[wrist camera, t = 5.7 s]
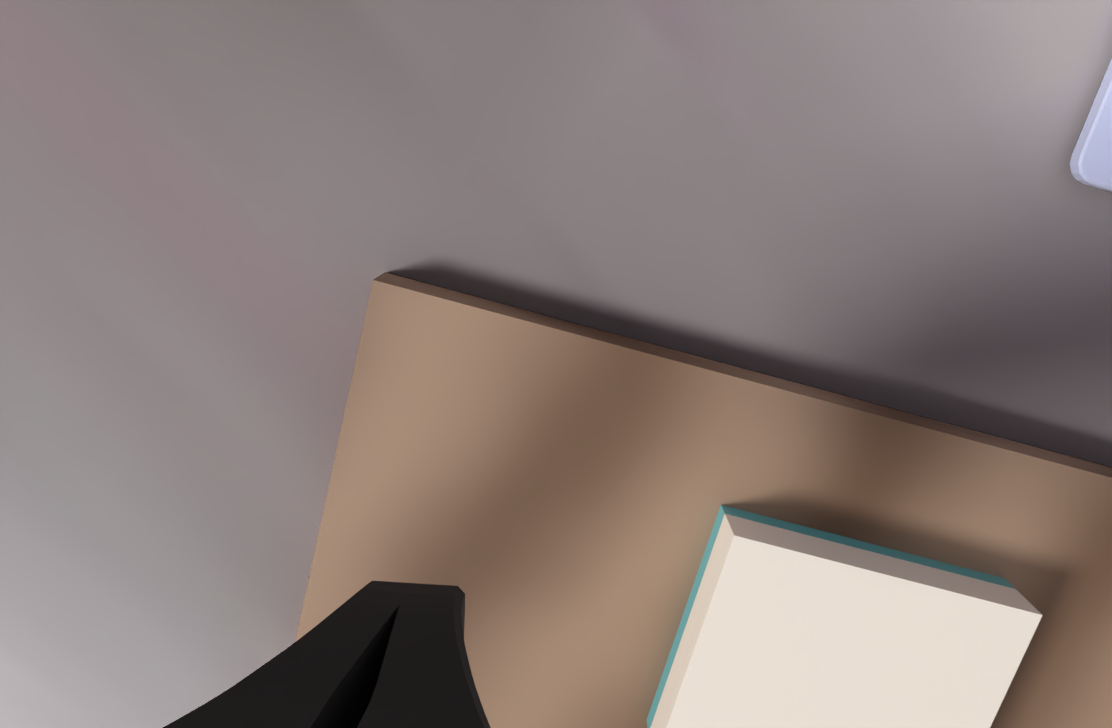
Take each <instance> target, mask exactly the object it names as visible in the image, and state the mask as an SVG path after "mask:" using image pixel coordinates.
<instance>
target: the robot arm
mask: <svg viewBox="0 0 1112 728" xmlns="http://www.w3.org/2000/svg"><path fill="white" fill-rule="evenodd" d="M1070 168H1071V173H1072V175H1073V176H1074V177H1075V179H1076V180H1077V181H1079V182H1081V183H1083V184H1085V185H1089V186H1092V187H1096V188H1099V189H1103V190H1106V191H1110V192H1112V59H1111V61H1110V64H1109V66H1108V69H1107V71H1106V74H1105V76H1104V78H1103V81H1102V83H1101V86H1100V88H1099V91H1098V93H1097V95H1096V98H1095V100H1094V103H1093V105H1092V107H1091V110H1090V112H1089V115H1088V117H1087V120H1086V122H1085V124H1084V127H1083V129H1082V132H1081V134H1080V137H1079V139H1078V141H1077V144H1076V146H1075V149H1074V151H1073V154H1072V157H1071V161H1070ZM464 622H465V593H464V592H463V591H462V590H461V589H460V588H459V587H458V586H452V585H436V584H419V583H403V582H386V581H371V582H370V583H368V584H367V585H366V586H364V587H363V588H362V589H361V590H359V591H358V592H357V593H356V594H354V595H353V596H352V597H351V598H350V599H348V600H347V601H346V602H345V603H343V604H342V605H341V606H340V607H339V608H337V609H336V610H335V611H334V612H333V613H331V614H330V615H329V616H328V617H326V618H325V619H324V620H323V621H321V622H320V623H319V624H318V625H317V626H315V627H314V628H313V629H311V630H310V631H309V632H308V633H306V634H305V635H304V636H303V637H301V638H300V639H299V640H297V641H296V642H295V643H294V644H292V645H291V646H290V647H288V648H287V649H286V650H284V651H283V652H281V653H280V654H279V655H277V656H276V657H274V658H273V659H271V660H270V661H269V662H267V663H266V664H264V665H263V666H261V667H260V668H259V669H257V670H256V671H254V672H253V673H252V674H250V675H249V676H247V677H246V678H244V679H243V680H242V681H240V682H239V683H237V684H236V685H234V686H233V687H231V688H230V689H228V690H227V691H225V692H223V693H222V694H220V695H219V696H217V697H215V698H214V699H212V700H210V701H209V702H207V703H206V704H204V705H202V706H201V707H199V708H197V709H195V710H193V711H192V712H190V713H188V714H186V715H185V716H183V717H181V718H179V719H178V720H176V721H174V722H172V723H171V724H169V725H167V726H165V727H163V728H491V727H490V725H489V722H488V720H487V717H486V715H485V712H484V710H483V707H482V704H481V701H480V698H479V695H478V693H477V690H476V686H475V683H474V680H473V676H472V673H471V669H470V665H469V661H468V656H467V652H466V648H465V643H464Z"/></svg>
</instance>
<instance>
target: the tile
mask: <svg viewBox="0 0 1112 728" xmlns="http://www.w3.org/2000/svg"><path fill="white" fill-rule="evenodd" d="M1041 618H1042V614H1041V613H1040V612H1039V611H1038V610H1037V609H1036V608H1035V607H1034V606H1033V605H1032V604H1031V603H1030V602H1029V601H1028V600H1027V599H1026V598H1025V597H1023V596H1022V595H1021V594H1020V593H1019V592H1018V591H1017V590H1016V589H1015V588H1014V587H1013V586H1012V585H1011V584H1010V583H1009V582H1008V581H1007V580H1006V579H1005V578H1001V577H997V576H994V575H990V574H986V573H982V572H978V571H974V570H971V569H967V568H963V567H959V566H955V565H951V564H947V563H944V562H940V561H936V560H932V559H928V558H924V557H921V556H917V555H913V554H909V553H905V552H901V551H897V550H894V549H890V548H886V547H882V546H878V545H874V544H871V543H867V542H863V541H859V540H855V539H851V538H848V537H844V536H840V535H836V534H832V533H828V532H824V531H821V530H817V529H813V528H809V527H805V526H801V525H798V524H794V523H790V522H786V521H782V520H778V519H774V518H771V517H767V516H763V515H759V514H755V513H751V512H748V511H744V510H740V509H736V508H732V507H728V506H724V505H721V506H720V509H719V511H718V514H717V517H716V520H715V523H714V526H713V529H712V532H711V535H710V538H709V540H708V543H707V546H706V549H705V552H704V555H703V558H702V561H701V564H700V566H699V569H698V572H697V575H696V578H695V581H694V584H693V587H692V590H691V593H690V595H689V598H688V601H687V604H686V607H685V610H684V613H683V616H682V619H681V622H680V624H679V627H678V630H677V633H676V636H675V639H674V642H673V645H672V648H671V651H670V653H669V656H668V659H667V662H666V665H665V668H664V671H663V674H662V677H661V680H660V682H659V685H658V688H657V691H656V694H655V697H654V700H653V703H652V706H651V709H650V711H649V714H648V717H647V727H648V728H990V727H991V725H992V723H993V720H994V718H995V716H996V714H997V712H998V710H999V708H1000V705H1001V703H1002V701H1003V699H1004V697H1005V695H1006V693H1007V690H1008V688H1009V686H1010V684H1011V682H1012V680H1013V678H1014V675H1015V673H1016V671H1017V669H1018V667H1019V665H1020V663H1021V660H1022V658H1023V656H1024V654H1025V652H1026V650H1027V648H1028V645H1029V643H1030V641H1031V639H1032V637H1033V635H1034V633H1035V630H1036V628H1037V626H1038V624H1039V622H1040V620H1041Z"/></svg>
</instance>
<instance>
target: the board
mask: <svg viewBox="0 0 1112 728" xmlns="http://www.w3.org/2000/svg"><path fill="white" fill-rule="evenodd" d="M721 505H724V506H728V507H732V508H736V509H740V510H744V511H748V512H751V513H755V514H759V515H763V516H767V517H771V518H774V519H778V520H782V521H786V522H790V523H794V524H798V525H801V526H805V527H809V528H813V529H817V530H821V531H824V532H828V533H832V534H836V535H840V536H844V537H848V538H851V539H855V540H859V541H863V542H867V543H871V544H874V545H878V546H882V547H886V548H890V549H894V550H897V551H901V552H905V553H909V554H913V555H917V556H921V557H924V558H928V559H932V560H936V561H940V562H944V563H947V564H951V565H955V566H959V567H963V568H967V569H971V570H974V571H978V572H982V573H986V574H990V575H994V576H997V577H1001V578H1005V579H1006V580H1007V581H1008V582H1009V583H1010V584H1011V585H1012V586H1013V587H1014V588H1015V589H1016V590H1017V591H1018V592H1019V593H1020V594H1021V595H1022V596H1023V597H1025V598H1026V599H1027V600H1028V601H1029V602H1030V603H1031V604H1032V605H1033V606H1034V607H1035V608H1036V609H1037V610H1038V611H1039V612H1040V613H1041V614H1042V618H1041V620H1040V622H1039V624H1038V626H1037V628H1036V630H1035V633H1034V635H1033V637H1032V639H1031V641H1030V643H1029V645H1028V648H1027V650H1026V652H1025V654H1024V656H1023V658H1022V660H1021V663H1020V665H1019V667H1018V669H1017V671H1016V673H1015V675H1014V678H1013V680H1012V682H1011V684H1010V686H1009V688H1008V690H1007V693H1006V695H1005V697H1004V699H1003V701H1002V703H1001V705H1000V708H999V710H998V712H997V714H996V716H995V718H994V720H993V723H992V725H991V727H990V728H1112V467H1108V466H1104V465H1101V464H1097V463H1093V462H1089V461H1086V460H1082V459H1078V458H1075V457H1071V456H1067V455H1063V454H1060V453H1056V452H1052V451H1048V450H1045V449H1041V448H1037V447H1034V446H1030V445H1026V444H1022V443H1019V442H1015V441H1011V440H1007V439H1004V438H1000V437H996V436H993V435H989V434H985V433H981V432H978V431H974V430H970V429H967V428H963V427H959V426H955V425H952V424H948V423H944V422H940V421H937V420H933V419H929V418H926V417H922V416H918V415H914V414H911V413H907V412H903V411H900V410H896V409H892V408H888V407H885V406H881V405H877V404H873V403H870V402H866V401H862V400H859V399H855V398H851V397H847V396H844V395H840V394H836V393H832V392H829V391H825V390H821V389H818V388H814V387H810V386H806V385H803V384H799V383H795V382H792V381H788V380H784V379H780V378H777V377H773V376H769V375H765V374H762V373H758V372H754V371H751V370H747V369H743V368H739V367H736V366H732V365H728V364H724V363H721V362H717V361H713V360H710V359H706V358H702V357H698V356H695V355H691V354H687V353H684V352H680V351H676V350H672V349H669V348H665V347H661V346H657V345H654V344H650V343H646V342H643V341H639V340H635V339H631V338H628V337H624V336H620V335H617V334H613V333H609V332H605V331H602V330H598V329H594V328H590V327H587V326H583V325H579V324H576V323H572V322H568V321H564V320H561V319H557V318H553V317H549V316H546V315H542V314H538V313H535V312H531V311H527V310H523V309H520V308H516V307H512V306H509V305H505V304H501V303H497V302H494V301H490V300H486V299H482V298H479V297H475V296H471V295H468V294H464V293H460V292H456V291H453V290H449V289H445V288H441V287H438V286H434V285H430V284H427V283H423V282H419V281H415V280H412V279H408V278H404V277H401V276H397V275H393V274H389V273H386V272H385V273H383V274H382V275H380V276H379V277H377V278H375V279H374V280H373V283H372V287H371V292H370V297H369V301H368V306H367V310H366V315H365V320H364V324H363V329H362V334H361V338H360V343H359V348H358V352H357V357H356V362H355V366H354V371H353V375H352V380H351V385H350V389H349V394H348V399H347V403H346V408H345V413H344V417H343V422H342V426H341V431H340V436H339V440H338V445H337V450H336V454H335V459H334V464H333V468H332V473H331V478H330V482H329V487H328V491H327V496H326V501H325V505H324V510H323V515H322V519H321V524H320V529H319V533H318V538H317V543H316V547H315V552H314V556H313V561H312V566H311V570H310V575H309V580H308V584H307V589H306V594H305V598H304V603H303V608H302V612H301V617H300V621H299V626H298V631H297V635H296V640H295V642H296V641H297V640H299V639H300V638H301V637H303V636H304V635H305V634H306V633H308V632H309V631H310V630H311V629H313V628H314V627H315V626H317V625H318V624H319V623H320V622H321V621H323V620H324V619H325V618H326V617H328V616H329V615H330V614H331V613H333V612H334V611H335V610H336V609H337V608H339V607H340V606H341V605H342V604H343V603H345V602H346V601H347V600H348V599H350V598H351V597H352V596H353V595H354V594H356V593H357V592H358V591H359V590H361V589H362V588H363V587H364V586H366V585H367V584H368V583H370V582H371V581H386V582H403V583H419V584H436V585H452V586H458V587H459V588H460V589H461V590H462V591H463V592H464V593H465V622H464V643H465V648H466V652H467V656H468V661H469V665H470V669H471V673H472V676H473V680H474V683H475V686H476V690H477V693H478V695H479V698H480V701H481V704H482V707H483V710H484V712H485V715H486V717H487V720H488V722H489V725H490V727H491V728H648V727H647V717H648V714H649V711H650V709H651V706H652V703H653V700H654V697H655V694H656V691H657V688H658V685H659V682H660V680H661V677H662V674H663V671H664V668H665V665H666V662H667V659H668V656H669V653H670V651H671V648H672V645H673V642H674V639H675V636H676V633H677V630H678V627H679V624H680V622H681V619H682V616H683V613H684V610H685V607H686V604H687V601H688V598H689V595H690V593H691V590H692V587H693V584H694V581H695V578H696V575H697V572H698V569H699V566H700V564H701V561H702V558H703V555H704V552H705V549H706V546H707V543H708V540H709V538H710V535H711V532H712V529H713V526H714V523H715V520H716V517H717V514H718V511H719V509H720V506H721Z"/></svg>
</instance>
